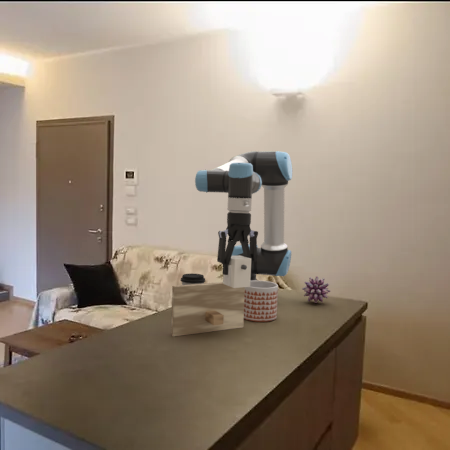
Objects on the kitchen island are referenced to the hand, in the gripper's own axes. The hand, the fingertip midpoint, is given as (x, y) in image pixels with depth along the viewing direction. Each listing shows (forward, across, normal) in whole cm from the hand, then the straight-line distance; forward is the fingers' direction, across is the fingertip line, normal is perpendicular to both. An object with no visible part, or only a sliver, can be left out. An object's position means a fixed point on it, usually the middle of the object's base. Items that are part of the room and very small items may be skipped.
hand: (236, 284), depth 146 cm
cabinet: (0, 0, 0) cm, 0 cm away
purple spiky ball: (+17, +56, +25) cm, 64 cm away
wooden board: (+17, -5, +6) cm, 19 cm away
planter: (+17, +21, +17) cm, 32 cm away
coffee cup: (+17, -1, +29) cm, 34 cm away
